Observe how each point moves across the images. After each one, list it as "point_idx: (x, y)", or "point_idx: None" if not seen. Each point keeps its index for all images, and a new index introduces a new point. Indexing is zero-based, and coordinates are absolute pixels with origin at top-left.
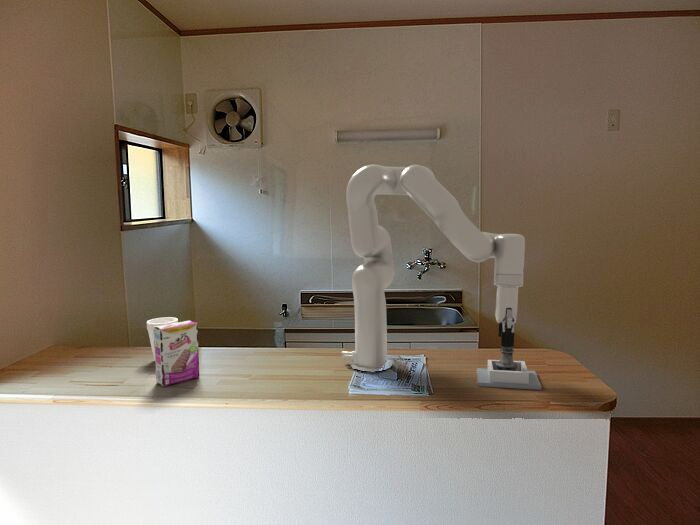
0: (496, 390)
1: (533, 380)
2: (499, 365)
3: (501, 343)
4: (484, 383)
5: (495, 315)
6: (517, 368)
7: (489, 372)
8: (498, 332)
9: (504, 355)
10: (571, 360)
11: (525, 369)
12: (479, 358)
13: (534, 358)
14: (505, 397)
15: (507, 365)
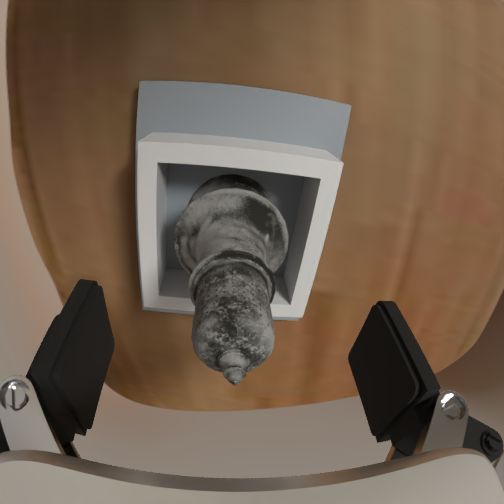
0: (105, 154)
1: None
2: (197, 204)
3: (72, 292)
4: (138, 109)
5: (419, 480)
6: (289, 275)
7: (147, 139)
8: (401, 318)
9: (201, 258)
10: None
11: (187, 304)
12: (479, 165)
13: (430, 326)
14: (50, 181)
15: (185, 243)
